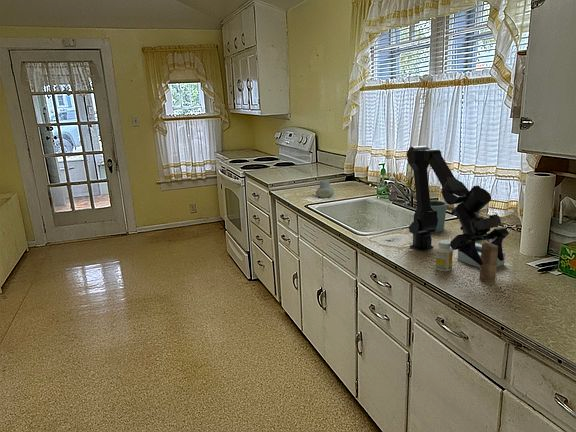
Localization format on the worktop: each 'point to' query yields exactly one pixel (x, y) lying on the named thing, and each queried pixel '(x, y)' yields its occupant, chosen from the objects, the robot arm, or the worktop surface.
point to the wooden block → (488, 262)
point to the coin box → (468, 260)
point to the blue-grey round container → (439, 213)
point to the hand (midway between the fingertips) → (492, 262)
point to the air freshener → (324, 189)
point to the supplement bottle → (444, 256)
